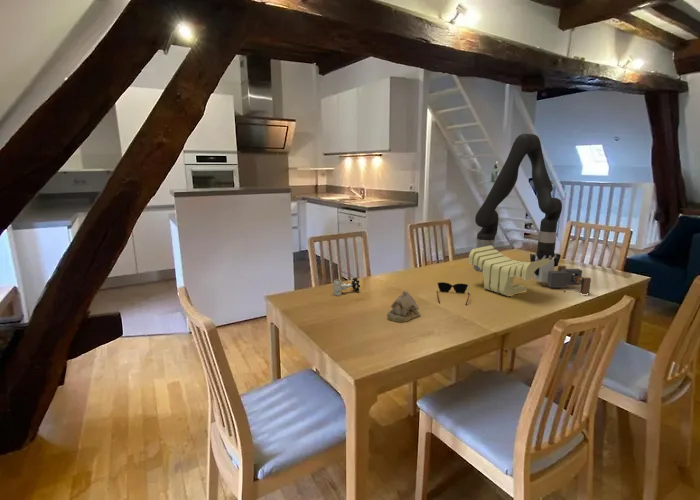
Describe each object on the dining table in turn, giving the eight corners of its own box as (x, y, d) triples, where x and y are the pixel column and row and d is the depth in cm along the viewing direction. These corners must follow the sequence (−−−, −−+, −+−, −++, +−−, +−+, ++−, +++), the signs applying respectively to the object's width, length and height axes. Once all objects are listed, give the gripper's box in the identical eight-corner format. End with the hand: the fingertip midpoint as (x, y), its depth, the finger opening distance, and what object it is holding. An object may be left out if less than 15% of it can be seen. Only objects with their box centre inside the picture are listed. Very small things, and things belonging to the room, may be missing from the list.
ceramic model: (398, 307, 165) (399, 284, 163) (424, 313, 159) (424, 289, 156) (382, 318, 153) (382, 294, 151) (408, 325, 147) (409, 300, 145)
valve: (336, 297, 177) (360, 293, 182) (336, 283, 175) (360, 279, 181) (330, 293, 183) (353, 289, 188) (330, 279, 181) (353, 275, 186)
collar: (550, 287, 185) (552, 270, 183) (547, 285, 188) (549, 269, 186) (580, 286, 185) (582, 270, 183) (576, 284, 188) (578, 268, 186)
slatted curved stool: (467, 285, 192) (469, 249, 188) (488, 279, 200) (491, 245, 196) (522, 304, 167) (527, 263, 163) (544, 296, 176) (549, 257, 172)
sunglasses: (467, 294, 181) (468, 283, 179) (469, 309, 166) (470, 298, 165) (436, 292, 184) (437, 281, 183) (435, 306, 169) (436, 295, 168)
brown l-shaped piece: (567, 296, 176) (569, 278, 174) (543, 281, 197) (545, 265, 195) (589, 295, 177) (592, 278, 175) (563, 281, 197) (565, 265, 195)
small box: (552, 282, 187) (554, 260, 185) (540, 282, 188) (542, 260, 185) (544, 277, 195) (546, 256, 193) (533, 277, 195) (535, 256, 193)
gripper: (557, 238, 191) (553, 272, 195) (528, 239, 190) (524, 272, 194) (566, 242, 183) (562, 276, 187) (535, 242, 183) (532, 277, 187)
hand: (543, 274), depth 191 cm, fingers closed on small box, 5 cm apart
